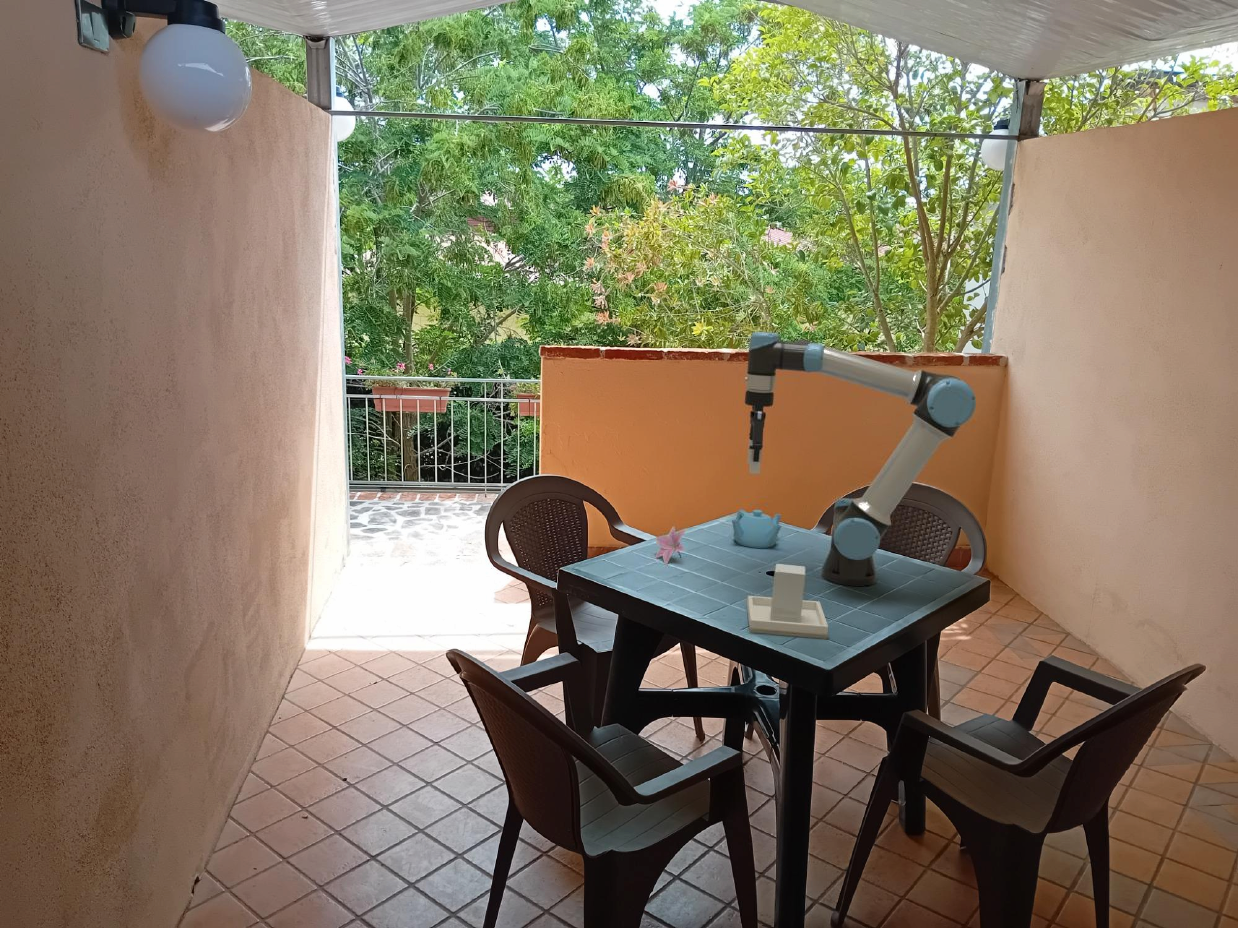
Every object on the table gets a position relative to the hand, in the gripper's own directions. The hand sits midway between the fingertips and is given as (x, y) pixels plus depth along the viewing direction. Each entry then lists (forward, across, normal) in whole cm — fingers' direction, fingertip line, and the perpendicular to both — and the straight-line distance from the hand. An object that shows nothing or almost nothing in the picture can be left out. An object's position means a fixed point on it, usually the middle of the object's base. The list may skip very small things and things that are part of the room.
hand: (753, 468), depth 255 cm
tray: (+32, +31, +9) cm, 45 cm away
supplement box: (+31, +31, +9) cm, 45 cm away
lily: (+32, -14, -21) cm, 41 cm away
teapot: (+32, -40, +5) cm, 51 cm away
